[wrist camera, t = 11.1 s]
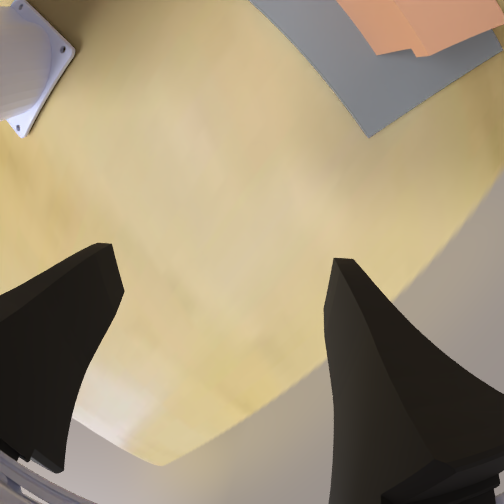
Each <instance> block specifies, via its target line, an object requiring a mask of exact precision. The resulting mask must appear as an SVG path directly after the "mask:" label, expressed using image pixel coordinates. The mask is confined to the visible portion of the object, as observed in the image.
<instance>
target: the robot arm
mask: <svg viewBox="0 0 504 504" xmlns="http://www.w3.org/2000/svg"><path fill="white" fill-rule="evenodd" d="M64 47H65V48H66V49H65V52H63V49H64ZM74 55H75V49H74V47H73V46H72V45H71V44H70V43H69V42H68V41H67V40H66V39H65V38H64V37H63V36H62V35H61V34H60V33H59V32H58V31H57V30H56V29H55V28H54V27H53V26H52V25H51V24H50V23H49V22H48V21H47V20H46V19H45V18H44V17H43V16H41V15H40V14H39V13H38V12H37V11H36V10H35V9H34V8H33V7H32V6H31V5H30V4H29V3H28V2H27V1H26V0H14V1H13V3H12V4H11V6H10V7H5V6H0V121H3V120H7V121H8V123H9V124H10V125H11V127H12V128H13V129H14V130H15V132H16V133H17V134H18V135H19V137H21V138H24V137H26V136H27V135H28V133H29V131H30V129H31V127H32V125H33V123H34V121H35V119H36V117H37V115H38V114H39V112H40V110H41V108H42V106H43V105H44V103H45V101H46V99H47V98H48V96H49V94H50V93H51V91H52V89H53V88H54V86H55V84H56V83H57V81H58V80H59V78H60V76H61V75H62V73H63V72H64V70H65V69H66V67H67V66H68V64H69V63H70V61H71V60H72V59H73V57H74ZM123 294H124V288H123V284H122V281H121V277H120V274H119V270H118V266H117V263H116V259H115V255H114V251H113V247H112V244H108V243H96V244H93V245H91V246H89V247H87V248H85V249H83V250H81V251H79V252H77V253H75V254H73V255H72V256H70V257H68V258H66V259H65V260H63V261H61V262H60V263H58V264H56V265H54V266H53V267H51V268H49V269H48V270H46V271H44V272H42V273H41V274H39V275H37V276H35V277H34V278H32V279H30V280H28V281H27V282H25V283H23V284H21V285H20V286H18V287H16V288H14V289H12V290H10V291H8V292H6V293H4V294H2V295H0V504H42V503H40V502H38V501H36V500H34V499H32V498H30V497H28V496H27V495H25V494H23V493H22V492H21V488H20V486H22V487H23V488H25V489H26V490H28V491H29V492H31V493H33V494H34V495H36V496H38V497H39V498H41V499H42V500H44V501H46V502H48V503H49V504H96V503H94V502H92V501H89V500H87V499H85V498H82V497H80V496H78V495H76V494H74V493H72V492H70V491H68V490H66V489H64V488H62V487H60V486H57V485H56V484H54V483H52V482H50V481H48V480H47V479H45V478H43V477H41V476H39V475H38V474H36V473H34V472H33V471H31V470H29V469H28V468H26V467H25V466H23V465H21V464H20V463H18V462H17V460H18V458H19V457H20V458H21V459H23V460H24V461H26V462H29V461H30V460H32V461H34V462H35V463H37V464H39V465H41V466H42V467H44V468H46V469H48V470H50V471H52V472H54V473H60V472H62V471H64V462H65V452H66V442H67V437H68V431H69V427H70V422H71V417H72V413H73V409H74V406H75V402H76V399H77V395H78V392H79V389H80V386H81V383H82V381H83V378H84V375H85V373H86V370H87V368H88V366H89V364H90V362H91V360H92V358H93V356H94V354H95V352H96V350H97V348H98V347H99V345H100V343H101V341H102V339H103V337H104V335H105V334H106V332H107V330H108V328H109V326H110V324H111V322H112V321H113V319H114V317H115V315H116V312H117V310H118V307H119V305H120V302H121V300H122V297H123ZM324 336H325V343H326V350H327V357H328V363H329V371H330V378H331V386H332V393H333V403H334V445H333V446H334V447H333V466H332V478H331V490H330V498H329V504H504V492H503V493H502V494H499V495H497V496H495V494H494V488H496V487H498V486H499V484H500V479H499V473H500V472H502V471H503V470H504V394H502V393H501V392H499V391H497V390H495V389H494V388H492V387H491V386H489V385H488V384H486V383H485V382H483V381H481V380H480V379H478V378H477V377H475V376H474V375H473V374H471V373H469V372H468V371H467V370H465V369H464V368H463V367H461V366H460V365H459V364H457V363H456V362H455V361H453V360H452V359H451V358H450V357H448V356H447V355H446V354H445V353H443V352H442V351H441V350H440V349H439V348H437V347H436V346H435V345H434V344H433V343H432V342H431V341H430V340H428V339H427V338H426V337H425V336H424V335H423V334H421V332H420V331H419V330H417V329H416V328H415V327H414V326H413V325H412V324H411V323H410V322H409V321H408V320H407V319H406V318H405V317H404V315H402V313H401V312H400V311H398V309H397V308H396V307H395V306H394V305H393V304H392V303H391V302H390V301H389V300H388V298H387V297H386V296H385V295H384V294H383V293H382V292H381V291H380V289H379V288H378V287H377V286H376V285H375V284H374V282H373V281H372V280H371V279H370V278H369V277H368V275H367V274H366V273H365V272H364V271H363V270H362V268H361V267H360V266H359V265H358V264H357V263H356V262H355V260H354V259H345V258H334V259H333V265H332V270H331V275H330V280H329V285H328V290H327V295H326V300H325V305H324Z"/></svg>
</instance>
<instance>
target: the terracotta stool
mask: <svg viewBox="0 0 504 504" xmlns="http://www.w3.org/2000/svg"><path fill="white" fill-rule="evenodd" d="M336 1H337V2H338V3H339V5H340V6H341V7H342V8H343V10H344V11H345V12H346V13H347V15H348V16H349V17H350V19H351V20H352V21H353V23H354V24H355V25H356V27H357V28H358V29H359V31H360V32H361V34H362V35H363V36H364V38H365V39H366V41H367V42H368V43H369V45H370V46H371V48H372V49H373V51H374V52H375V54H376V55H381V54H386V53H390V52H395V51H400V50H405V49H412V51H413V52H414V54H415V56H416V57H424V56H430V55H433V54H435V53H437V52H439V51H441V50H443V49H446V48H448V47H450V46H452V45H454V44H457V43H459V42H461V41H464V40H466V39H468V38H471V37H473V36H475V35H478V34H480V33H483V32H485V31H488V30H490V29H493V28H495V27H498V26H501V25H503V24H504V14H503V12H502V10H501V8H500V7H499V5H498V3H497V1H496V0H336Z"/></svg>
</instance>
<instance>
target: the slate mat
mask: <svg viewBox="0 0 504 504" xmlns="http://www.w3.org/2000/svg"><path fill="white" fill-rule="evenodd" d="M249 1H250V2H251V3H252V4H253V5H254V6H255V7H256V8H257V9H258V10H259V11H261V12H262V13H263V14H264V15H265V16H266V17H267V18H268V19H269V20H270V21H271V22H272V23H273V24H274V25H275V26H276V27H277V28H278V29H279V30H280V31H281V32H282V33H283V34H284V35H285V36H286V37H287V38H288V39H289V40H290V41H291V43H292V44H293V45H294V46H295V47H296V48H297V49H298V50H299V51H300V52H301V53H302V55H303V56H304V57H305V58H306V59H307V60H308V61H309V62H310V64H311V65H312V66H313V67H314V68H315V69H316V71H317V72H318V73H319V74H320V75H321V77H322V78H323V79H324V80H325V81H326V83H327V84H328V85H329V86H330V88H331V89H332V90H333V91H334V93H335V94H336V95H337V97H338V98H339V99H340V100H341V102H342V103H343V104H344V106H345V107H346V108H347V110H348V111H349V112H350V114H351V115H352V116H353V118H354V119H355V121H356V122H357V123H358V125H359V126H360V128H361V129H362V130H363V132H364V133H365V135H366V136H367V137H368V138H370V137H371V136H373V135H374V134H376V133H377V132H379V131H380V130H382V129H383V128H385V127H386V126H387V125H389V124H390V123H392V122H393V121H395V120H396V119H398V118H399V117H401V116H402V115H404V114H405V113H407V112H408V111H410V110H411V109H413V108H414V107H416V106H417V105H419V104H420V103H422V102H423V101H425V100H426V99H428V98H429V97H431V96H432V95H434V94H435V93H437V92H438V91H440V90H441V89H443V88H444V87H446V86H447V85H449V84H451V83H452V82H454V81H455V80H457V79H458V78H460V77H461V76H463V75H464V74H466V73H468V72H469V71H471V70H472V69H474V68H475V67H477V66H479V65H480V64H482V63H483V62H485V61H486V60H488V59H490V58H491V57H493V56H494V55H496V54H498V53H499V52H501V51H502V50H503V49H502V47H501V45H500V43H499V41H498V39H497V37H496V36H495V34H494V32H493V30H492V29H490V30H488V31H485V32H483V33H480V34H478V35H475V36H473V37H471V38H468V39H466V40H464V41H461V42H459V43H457V44H454V45H452V46H450V47H448V48H446V49H443V50H441V51H439V52H437V53H435V54H433V55H430V56H424V57H416V56H415V54H414V52H413V51H412V49H405V50H400V51H395V52H390V53H386V54H381V55H376V54H375V52H374V51H373V49H372V48H371V46H370V45H369V43H368V42H367V41H366V39H365V38H364V36H363V35H362V34H361V32H360V31H359V29H358V28H357V27H356V25H355V24H354V23H353V21H352V20H351V19H350V17H349V16H348V15H347V13H346V12H345V11H344V10H343V8H342V7H341V6H340V5H339V3H338V2H337V1H336V0H249Z"/></svg>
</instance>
